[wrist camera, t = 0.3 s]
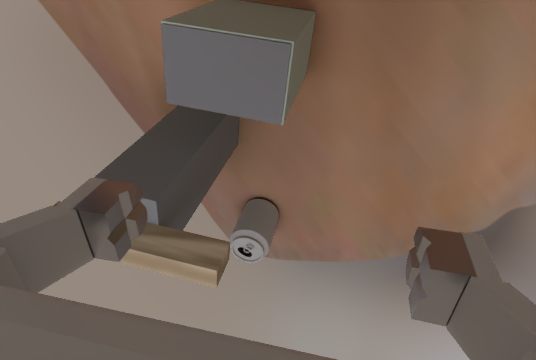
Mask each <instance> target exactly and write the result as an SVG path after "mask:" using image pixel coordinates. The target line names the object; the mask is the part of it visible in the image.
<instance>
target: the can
mask: <svg viewBox="0 0 536 360" xmlns="http://www.w3.org/2000/svg"><path fill="white" fill-rule="evenodd" d="M278 220H279V213H278V210H277V208H276V207H275V206H274V205H273V204H272V203H271V202H269V201H267V200H263V199H253V200H250V201H249V202H247V203H246V205H245V207H244V209H243V211H242V213H241V215H240V217H239V220H238V222H237V224H236V226H235V228H234V230H233V233H232V235H231V237H230V245H231V248H230V249H231V251H232V254H233V255H234V256H235V257H236V258H237V259H239V260H241V261H243V262H246V263H256V262H259V261H260V260H261V259H262V258H263V257H265V256H266V255H267V253H268V252H269V248H270V245H271V242H272V239H273V236H274V232H275V229H276V226H277V223H278Z"/></svg>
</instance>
